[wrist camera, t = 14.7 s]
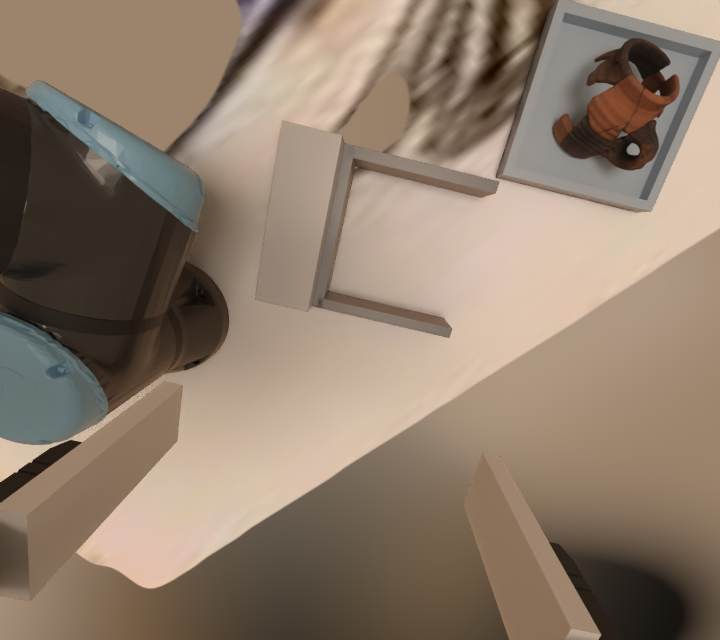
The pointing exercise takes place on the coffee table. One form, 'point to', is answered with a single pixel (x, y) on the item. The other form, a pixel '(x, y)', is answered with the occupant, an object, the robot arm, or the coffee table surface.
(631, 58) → the pottery mug
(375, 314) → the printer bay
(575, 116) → the tray
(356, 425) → the coffee table surface
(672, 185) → the coffee table surface
